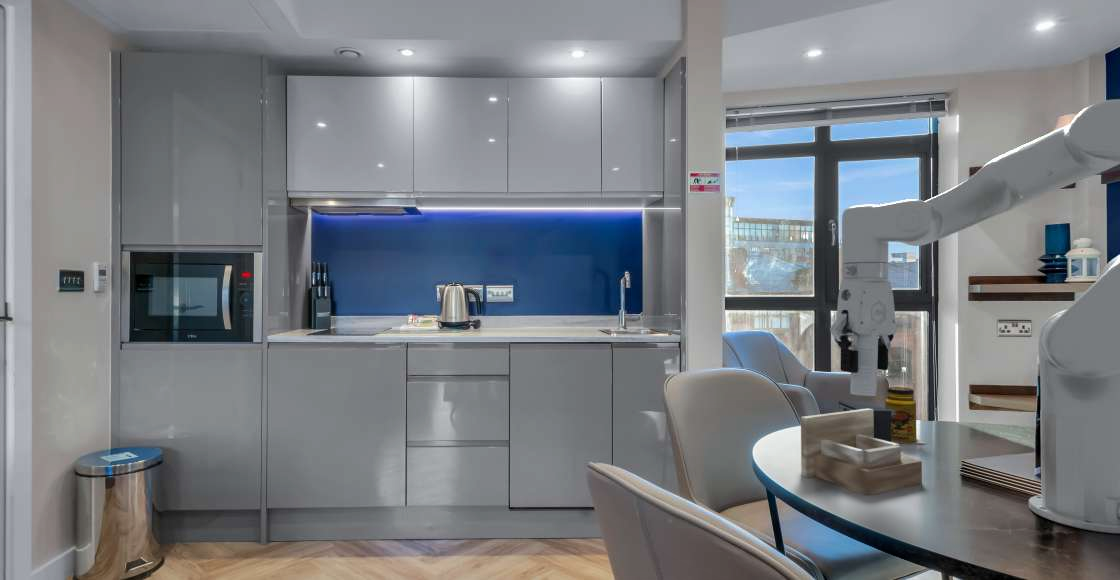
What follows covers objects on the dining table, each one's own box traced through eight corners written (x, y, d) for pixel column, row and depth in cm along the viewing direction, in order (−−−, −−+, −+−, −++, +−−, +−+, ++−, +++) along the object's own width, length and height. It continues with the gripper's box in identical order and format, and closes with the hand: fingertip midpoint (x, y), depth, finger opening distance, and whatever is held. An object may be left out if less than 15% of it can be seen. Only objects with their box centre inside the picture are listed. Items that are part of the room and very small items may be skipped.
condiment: (892, 444, 128) (891, 390, 128) (874, 434, 136) (874, 384, 136) (926, 444, 127) (925, 391, 127) (906, 435, 135) (906, 384, 135)
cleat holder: (929, 481, 102) (928, 420, 102) (858, 497, 95) (858, 431, 95) (860, 460, 115) (860, 406, 115) (793, 472, 108) (793, 415, 108)
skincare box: (850, 389, 108) (850, 325, 108) (877, 391, 106) (877, 326, 106) (850, 395, 102) (850, 327, 102) (878, 397, 100) (878, 328, 100)
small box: (894, 461, 114) (894, 409, 114) (861, 461, 114) (861, 410, 115) (867, 447, 125) (866, 399, 125) (837, 447, 125) (836, 400, 125)
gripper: (848, 272, 97) (848, 376, 97) (916, 273, 104) (915, 370, 104) (813, 273, 104) (812, 370, 104) (878, 274, 111) (878, 365, 111)
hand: (864, 369), depth 104 cm, fingers closed on skincare box, 7 cm apart
